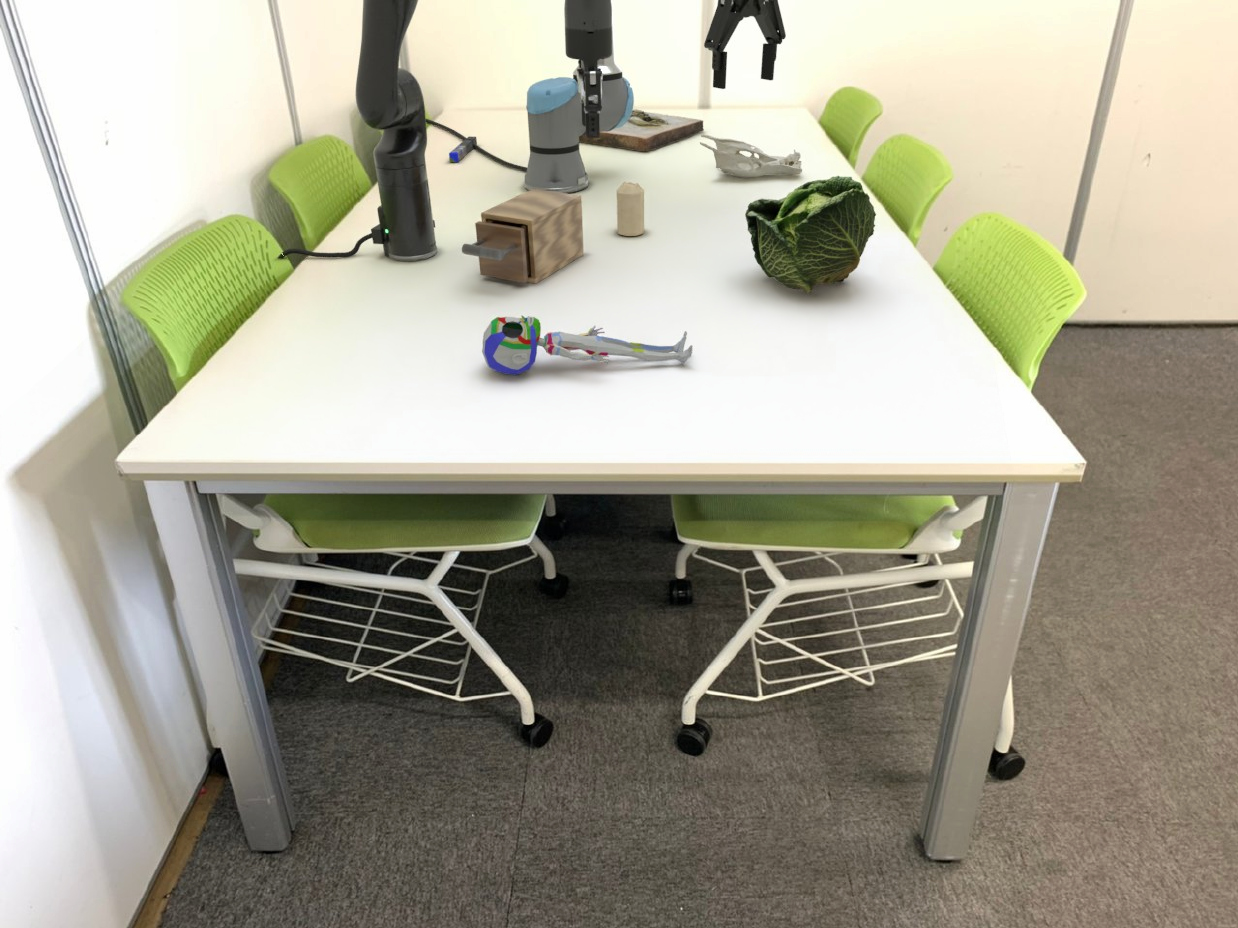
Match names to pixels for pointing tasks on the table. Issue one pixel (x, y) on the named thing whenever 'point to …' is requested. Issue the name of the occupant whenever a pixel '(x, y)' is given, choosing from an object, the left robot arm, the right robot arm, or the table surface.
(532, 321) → the toy
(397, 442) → the table surface
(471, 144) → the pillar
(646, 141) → the plaque
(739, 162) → the anatomical model
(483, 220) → the cabinet
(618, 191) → the candle
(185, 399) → the table surface
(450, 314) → the table surface
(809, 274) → the vegetable
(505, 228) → the drawer
